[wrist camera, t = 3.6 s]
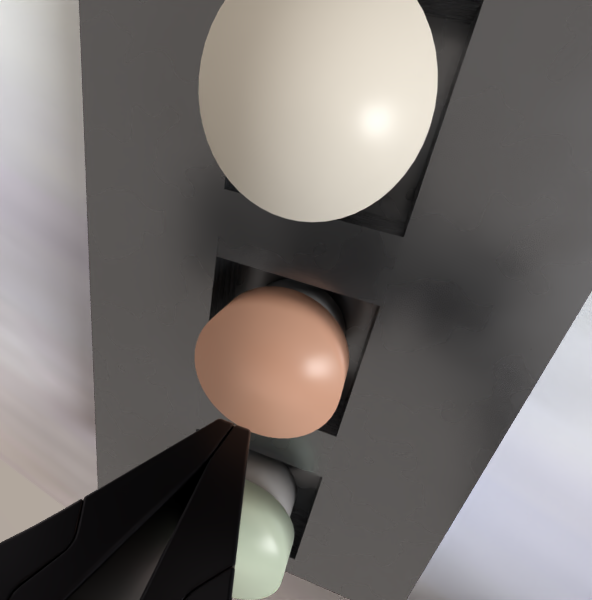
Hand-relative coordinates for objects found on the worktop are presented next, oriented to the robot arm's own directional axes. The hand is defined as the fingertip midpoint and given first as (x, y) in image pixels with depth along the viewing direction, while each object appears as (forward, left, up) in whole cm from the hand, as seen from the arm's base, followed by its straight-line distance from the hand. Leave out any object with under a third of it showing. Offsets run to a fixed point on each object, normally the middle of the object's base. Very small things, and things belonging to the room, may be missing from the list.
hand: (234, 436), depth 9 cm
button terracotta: (0, 0, -5) cm, 5 cm away
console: (0, 0, -6) cm, 6 cm away
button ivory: (0, -7, -4) cm, 9 cm away
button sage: (0, +7, -4) cm, 8 cm away
